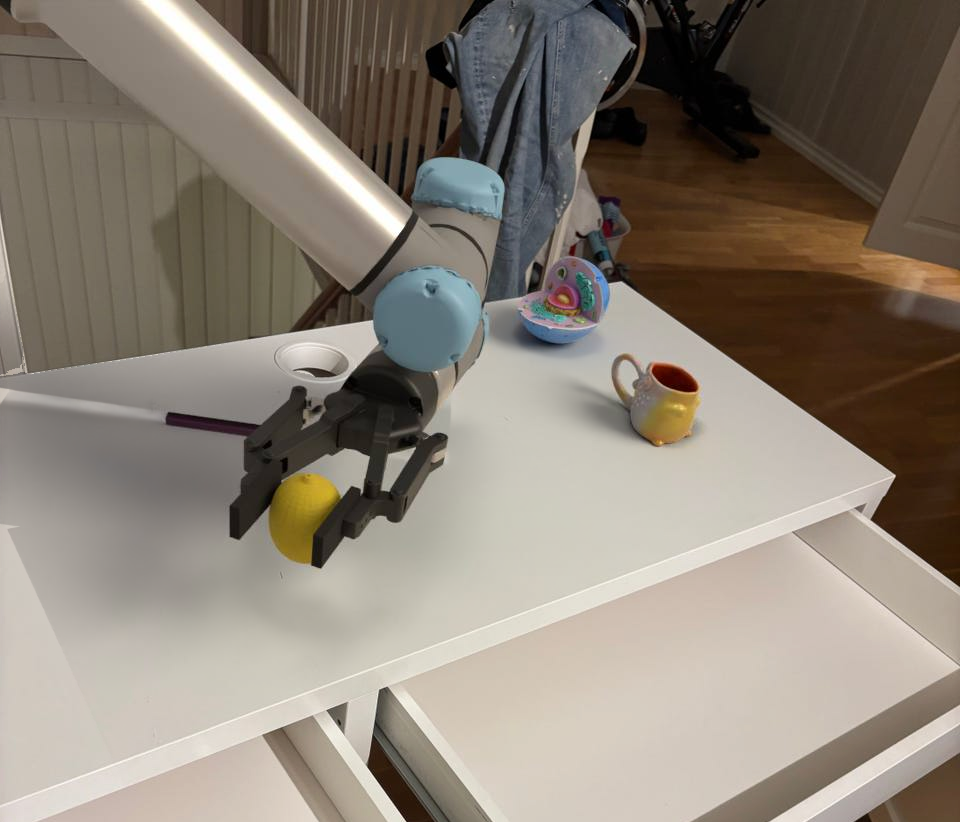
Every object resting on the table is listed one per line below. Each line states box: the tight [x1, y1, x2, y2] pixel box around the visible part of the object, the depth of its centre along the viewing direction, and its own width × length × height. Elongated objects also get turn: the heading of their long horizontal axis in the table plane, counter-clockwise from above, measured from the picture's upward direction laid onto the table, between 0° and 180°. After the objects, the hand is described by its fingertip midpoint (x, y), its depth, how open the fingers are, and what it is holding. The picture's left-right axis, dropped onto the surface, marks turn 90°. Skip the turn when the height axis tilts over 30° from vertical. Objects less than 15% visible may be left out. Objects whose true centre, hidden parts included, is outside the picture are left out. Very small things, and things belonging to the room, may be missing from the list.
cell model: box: [516, 255, 611, 344], centre depth 116 cm, size 10×12×10 cm
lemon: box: [268, 472, 342, 565], centre depth 72 cm, size 6×6×8 cm
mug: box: [610, 352, 701, 447], centre depth 107 cm, size 12×7×7 cm, turn 35°
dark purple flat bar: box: [164, 411, 261, 437], centre depth 95 cm, size 14×5×1 cm, turn 90°
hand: (275, 537), depth 67 cm, fingers closed on lemon, 5 cm apart
